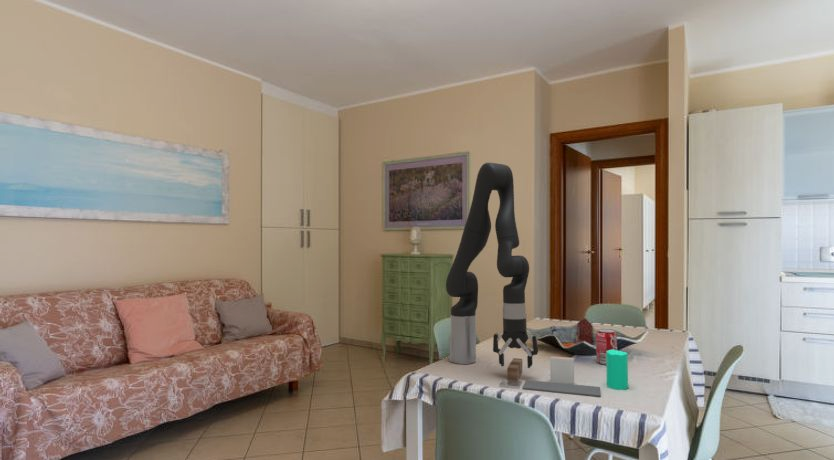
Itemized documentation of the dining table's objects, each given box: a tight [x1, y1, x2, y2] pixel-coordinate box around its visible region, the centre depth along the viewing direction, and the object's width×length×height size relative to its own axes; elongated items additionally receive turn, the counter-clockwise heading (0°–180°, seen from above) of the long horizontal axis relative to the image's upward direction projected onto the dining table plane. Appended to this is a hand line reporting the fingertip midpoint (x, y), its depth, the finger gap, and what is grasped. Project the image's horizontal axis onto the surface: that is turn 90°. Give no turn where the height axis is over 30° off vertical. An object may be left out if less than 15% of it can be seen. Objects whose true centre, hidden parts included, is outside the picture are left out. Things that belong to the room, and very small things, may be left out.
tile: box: [549, 355, 575, 385], centre depth 147 cm, size 7×2×8 cm, turn 70°
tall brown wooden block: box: [499, 357, 523, 390], centre depth 152 cm, size 19×6×4 cm, turn 160°
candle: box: [605, 349, 629, 391], centre depth 143 cm, size 6×6×12 cm
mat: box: [522, 379, 602, 398], centre depth 141 cm, size 22×8×1 cm, turn 70°
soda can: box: [595, 328, 618, 366], centre depth 170 cm, size 7×7×12 cm
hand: (515, 366), depth 153 cm, fingers open, 8 cm apart
